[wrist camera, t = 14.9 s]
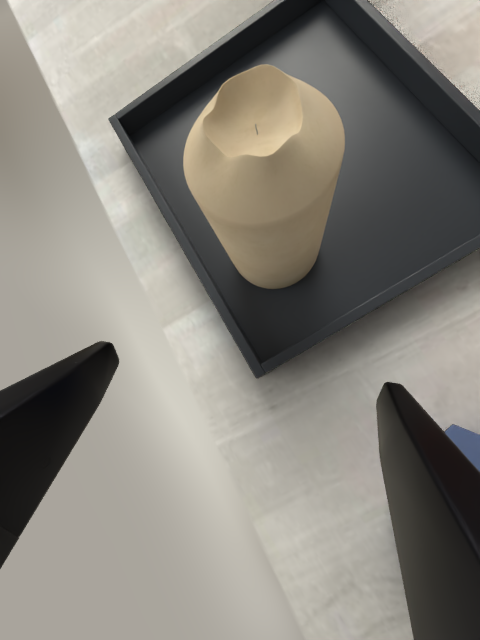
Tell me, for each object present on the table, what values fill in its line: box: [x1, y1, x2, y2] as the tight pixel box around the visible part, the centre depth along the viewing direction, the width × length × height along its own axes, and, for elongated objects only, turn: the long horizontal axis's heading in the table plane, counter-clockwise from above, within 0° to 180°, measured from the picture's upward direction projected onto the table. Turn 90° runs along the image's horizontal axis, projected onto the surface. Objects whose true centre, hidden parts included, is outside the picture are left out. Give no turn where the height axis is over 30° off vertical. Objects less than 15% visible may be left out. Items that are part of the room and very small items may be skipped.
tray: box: [109, 0, 480, 378], centre depth 18 cm, size 18×21×2 cm
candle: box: [183, 64, 345, 289], centre depth 13 cm, size 6×6×10 cm
